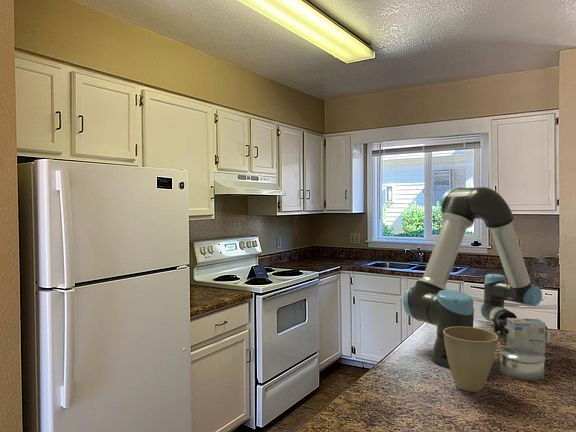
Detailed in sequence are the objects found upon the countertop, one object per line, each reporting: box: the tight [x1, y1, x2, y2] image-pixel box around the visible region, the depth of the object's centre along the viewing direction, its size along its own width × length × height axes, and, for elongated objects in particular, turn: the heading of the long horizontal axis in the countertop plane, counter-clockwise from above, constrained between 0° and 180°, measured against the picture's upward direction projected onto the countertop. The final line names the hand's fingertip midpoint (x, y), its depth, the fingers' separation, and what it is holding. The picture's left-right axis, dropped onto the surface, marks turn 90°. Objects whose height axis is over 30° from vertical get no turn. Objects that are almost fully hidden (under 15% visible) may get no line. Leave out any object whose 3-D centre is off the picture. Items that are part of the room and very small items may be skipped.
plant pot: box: [443, 326, 499, 393], centre depth 131 cm, size 15×15×16 cm
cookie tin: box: [499, 347, 546, 381], centre depth 143 cm, size 13×13×6 cm
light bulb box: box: [506, 317, 547, 355], centre depth 154 cm, size 11×7×11 cm, turn 84°
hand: (531, 335), depth 150 cm, fingers closed on light bulb box, 11 cm apart
